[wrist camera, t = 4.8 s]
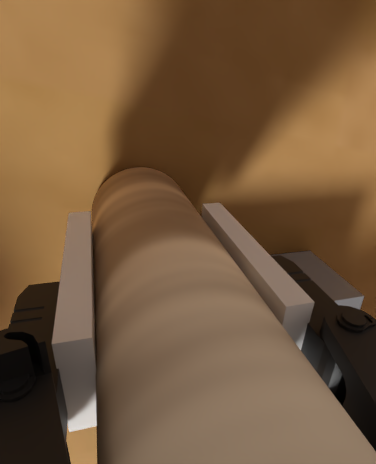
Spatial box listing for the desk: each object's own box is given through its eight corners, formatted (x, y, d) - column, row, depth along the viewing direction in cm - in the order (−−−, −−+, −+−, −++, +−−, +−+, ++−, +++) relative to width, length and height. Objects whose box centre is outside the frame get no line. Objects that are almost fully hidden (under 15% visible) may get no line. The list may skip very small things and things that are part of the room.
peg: (86, 169, 14) (78, 820, 2) (187, 165, 15) (580, 567, 3) (96, 258, 16) (120, 859, 4) (184, 249, 17) (416, 695, 5)
